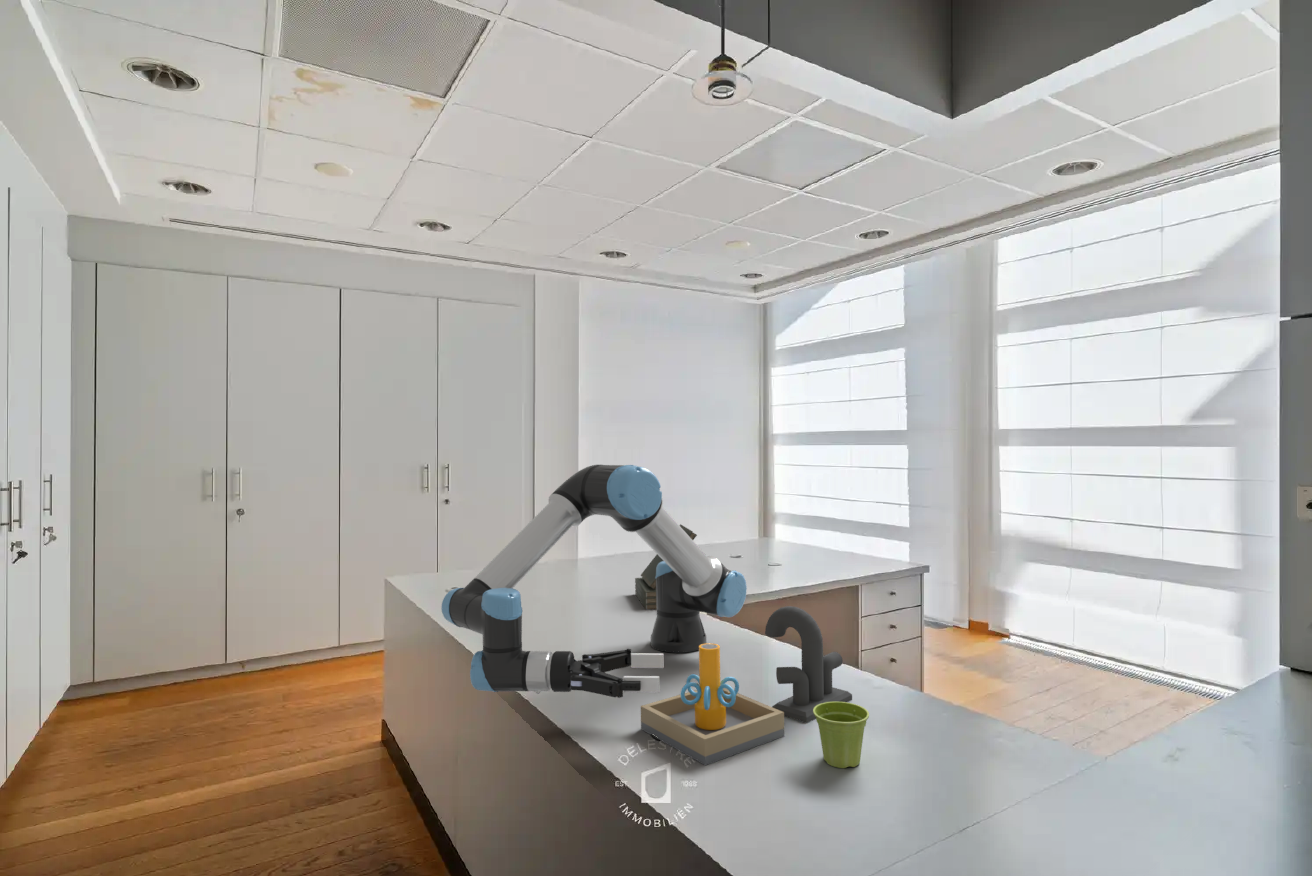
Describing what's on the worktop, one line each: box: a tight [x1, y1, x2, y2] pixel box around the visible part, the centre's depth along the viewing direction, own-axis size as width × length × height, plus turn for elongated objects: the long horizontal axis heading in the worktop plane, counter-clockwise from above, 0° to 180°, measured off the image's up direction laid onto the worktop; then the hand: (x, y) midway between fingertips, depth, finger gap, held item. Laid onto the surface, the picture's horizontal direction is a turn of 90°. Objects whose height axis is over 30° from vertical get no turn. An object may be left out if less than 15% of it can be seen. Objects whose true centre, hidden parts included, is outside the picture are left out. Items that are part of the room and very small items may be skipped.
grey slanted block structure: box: [634, 523, 698, 611], centre depth 247 cm, size 23×20×25 cm
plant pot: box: [813, 701, 870, 769], centre depth 125 cm, size 9×9×9 cm
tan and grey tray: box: [640, 688, 785, 766], centre depth 138 cm, size 19×19×4 cm
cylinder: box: [680, 642, 740, 730], centre depth 138 cm, size 12×10×15 cm
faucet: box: [764, 605, 853, 724], centre depth 154 cm, size 18×16×20 cm
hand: (661, 672), depth 139 cm, fingers open, 13 cm apart
